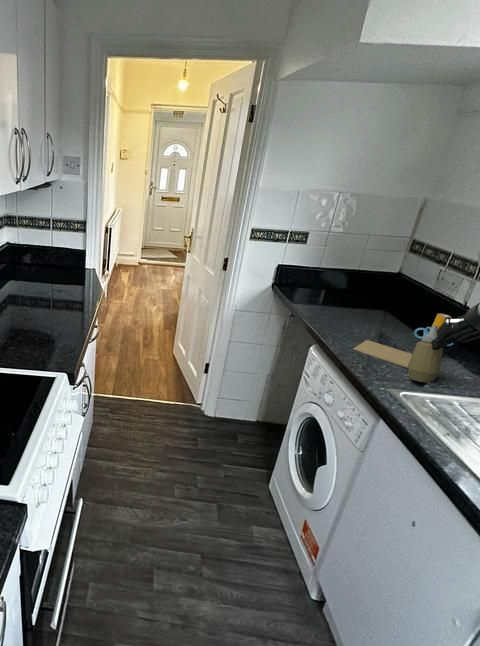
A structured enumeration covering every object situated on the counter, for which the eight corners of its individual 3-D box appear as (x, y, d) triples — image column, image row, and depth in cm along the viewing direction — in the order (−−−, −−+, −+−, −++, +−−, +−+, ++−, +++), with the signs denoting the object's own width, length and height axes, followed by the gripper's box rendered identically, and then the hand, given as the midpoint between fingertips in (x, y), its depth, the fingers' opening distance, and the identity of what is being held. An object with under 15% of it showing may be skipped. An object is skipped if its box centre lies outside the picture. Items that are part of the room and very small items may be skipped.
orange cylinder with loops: (403, 343, 160) (418, 307, 154) (432, 347, 159) (449, 311, 153) (421, 358, 149) (438, 320, 143) (452, 362, 148) (471, 324, 142)
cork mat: (420, 358, 149) (421, 356, 149) (409, 368, 141) (410, 367, 141) (366, 341, 162) (366, 339, 162) (352, 349, 153) (353, 348, 153)
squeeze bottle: (409, 381, 129) (424, 325, 126) (401, 374, 137) (415, 321, 133) (440, 386, 127) (456, 329, 123) (430, 379, 134) (445, 325, 130)
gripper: (521, 303, 104) (458, 337, 126) (462, 296, 107) (410, 331, 129) (525, 330, 102) (460, 360, 123) (465, 322, 104) (411, 353, 126)
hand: (434, 345), depth 126 cm, fingers closed
